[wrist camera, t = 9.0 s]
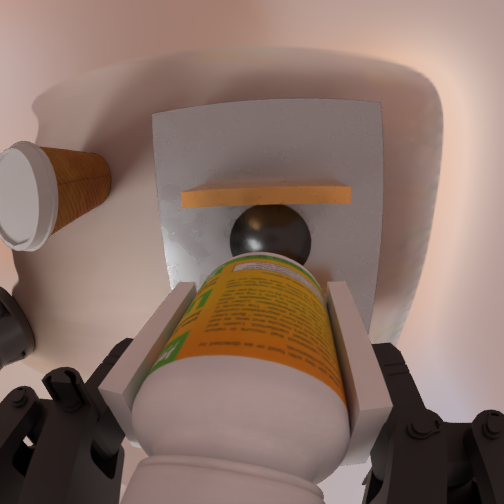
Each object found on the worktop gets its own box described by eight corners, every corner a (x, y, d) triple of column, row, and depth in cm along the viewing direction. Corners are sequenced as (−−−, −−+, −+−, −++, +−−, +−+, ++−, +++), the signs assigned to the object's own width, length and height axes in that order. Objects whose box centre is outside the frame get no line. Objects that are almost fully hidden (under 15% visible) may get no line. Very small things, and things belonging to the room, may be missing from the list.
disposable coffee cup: (57, 207, 29) (-15, 234, 17) (71, 132, 25) (-8, 135, 14) (114, 232, 29) (41, 274, 18) (133, 148, 26) (51, 152, 14)
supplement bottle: (212, 233, 11) (37, 445, 2) (342, 267, 11) (430, 515, 2) (193, 339, 13) (107, 522, 4) (301, 366, 13) (299, 564, 4)
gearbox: (199, 318, 31) (170, 377, 22) (178, 121, 24) (125, 107, 15) (352, 317, 29) (374, 380, 20) (359, 113, 22) (401, 91, 13)
